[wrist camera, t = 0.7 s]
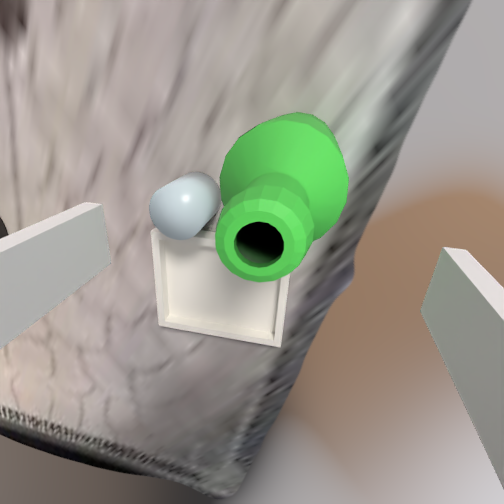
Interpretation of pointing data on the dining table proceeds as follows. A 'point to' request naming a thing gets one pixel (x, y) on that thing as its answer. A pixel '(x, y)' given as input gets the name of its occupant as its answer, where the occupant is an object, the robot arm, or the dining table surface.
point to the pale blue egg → (185, 205)
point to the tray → (214, 293)
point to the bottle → (279, 195)
